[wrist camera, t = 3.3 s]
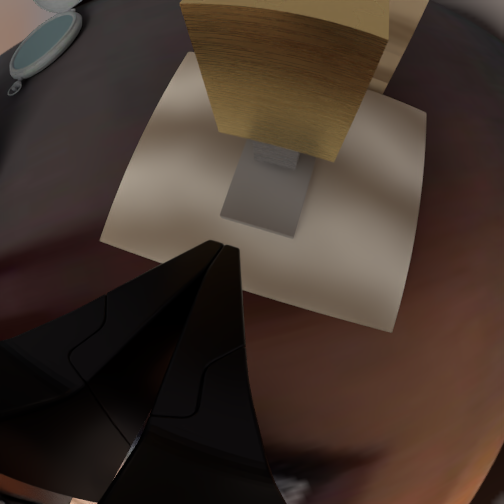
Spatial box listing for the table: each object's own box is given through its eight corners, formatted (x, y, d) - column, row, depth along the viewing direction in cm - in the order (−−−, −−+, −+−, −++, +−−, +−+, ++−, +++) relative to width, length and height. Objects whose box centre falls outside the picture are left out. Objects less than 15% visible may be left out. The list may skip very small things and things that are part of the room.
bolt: (325, 179, 14) (388, 40, 5) (225, 152, 14) (179, 3, 5) (348, 77, 15) (387, -49, 6) (265, 56, 15) (260, -73, 6)
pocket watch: (80, -66, 11) (-23, 30, 9) (112, -3, 22) (43, 95, 20) (20, -36, 12) (-62, 59, 10) (55, 13, 22) (-7, 104, 20)
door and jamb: (378, 328, 15) (496, 360, 6) (116, 246, 17) (-9, 200, 7) (415, 75, 18) (466, -13, 8) (221, 26, 19) (202, -72, 9)
